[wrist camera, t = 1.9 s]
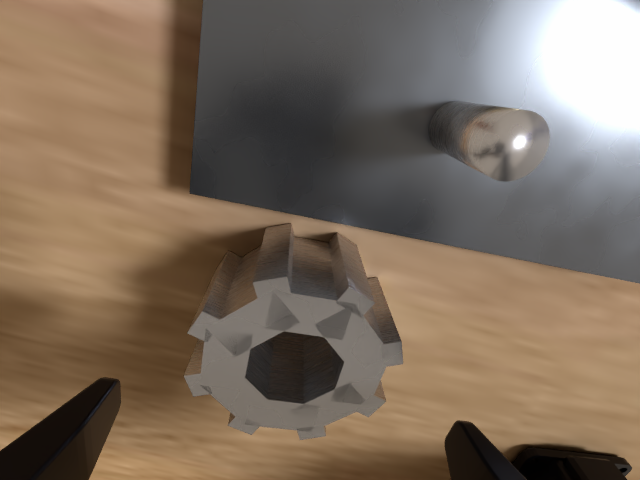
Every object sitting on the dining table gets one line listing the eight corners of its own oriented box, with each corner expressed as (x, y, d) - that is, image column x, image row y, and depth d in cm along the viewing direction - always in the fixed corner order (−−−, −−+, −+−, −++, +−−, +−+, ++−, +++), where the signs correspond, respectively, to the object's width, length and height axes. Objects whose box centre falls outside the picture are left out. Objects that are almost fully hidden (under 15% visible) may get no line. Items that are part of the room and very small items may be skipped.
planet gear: (352, 368, 15) (365, 446, 12) (207, 349, 14) (179, 427, 11) (398, 244, 12) (431, 301, 9) (223, 210, 11) (193, 260, 8)
